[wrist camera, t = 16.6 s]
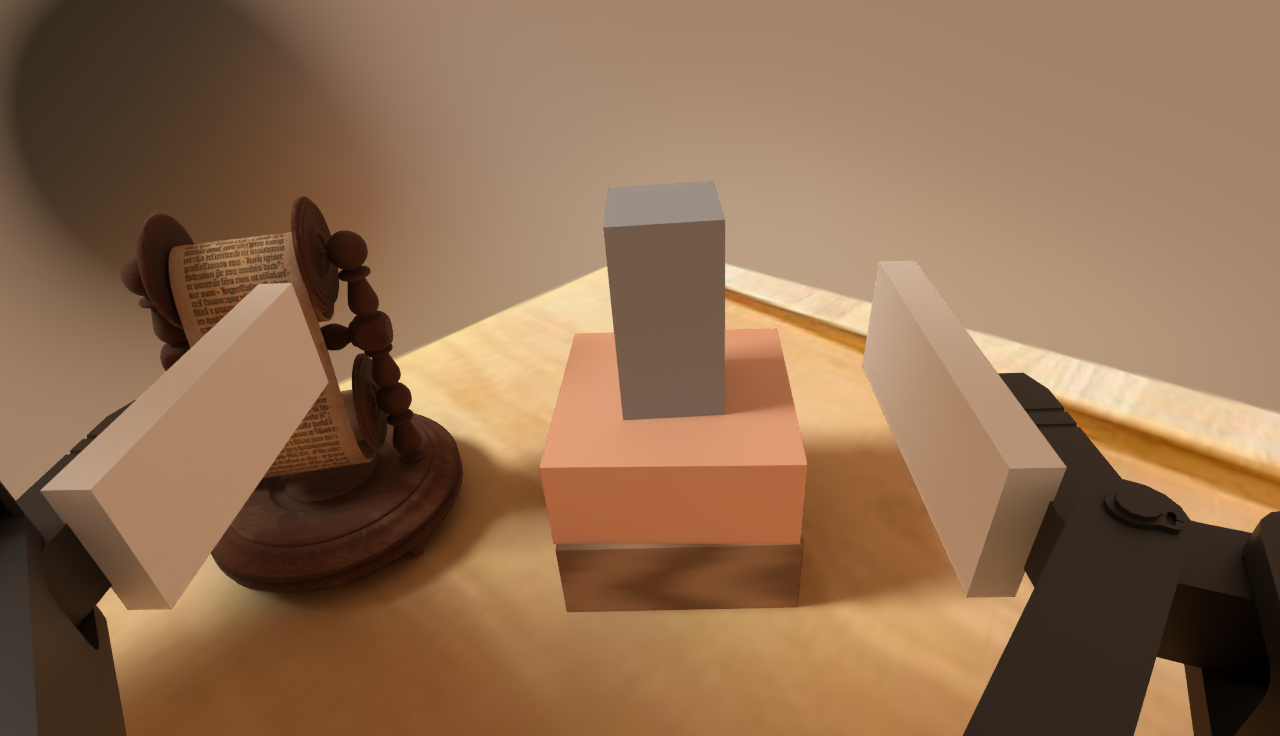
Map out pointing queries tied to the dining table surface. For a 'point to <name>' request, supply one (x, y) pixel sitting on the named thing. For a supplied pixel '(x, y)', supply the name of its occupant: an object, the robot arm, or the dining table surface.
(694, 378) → the grey block
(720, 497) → the tower top
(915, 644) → the dining table surface
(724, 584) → the tower bottom
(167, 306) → the scroll
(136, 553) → the robot arm
